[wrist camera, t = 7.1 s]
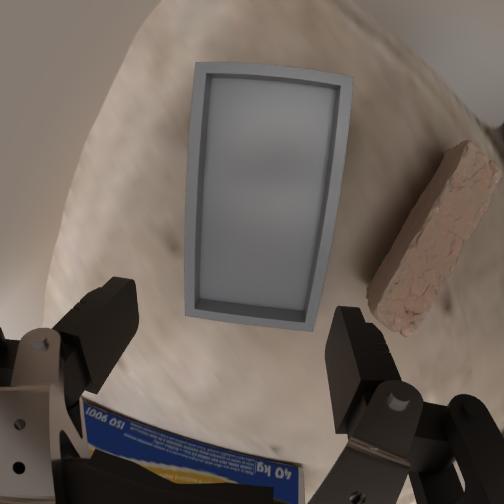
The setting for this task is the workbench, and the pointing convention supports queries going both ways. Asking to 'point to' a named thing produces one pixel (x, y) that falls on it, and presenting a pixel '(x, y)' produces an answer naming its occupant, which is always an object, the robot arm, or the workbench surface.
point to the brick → (432, 238)
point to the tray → (262, 191)
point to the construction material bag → (187, 456)
